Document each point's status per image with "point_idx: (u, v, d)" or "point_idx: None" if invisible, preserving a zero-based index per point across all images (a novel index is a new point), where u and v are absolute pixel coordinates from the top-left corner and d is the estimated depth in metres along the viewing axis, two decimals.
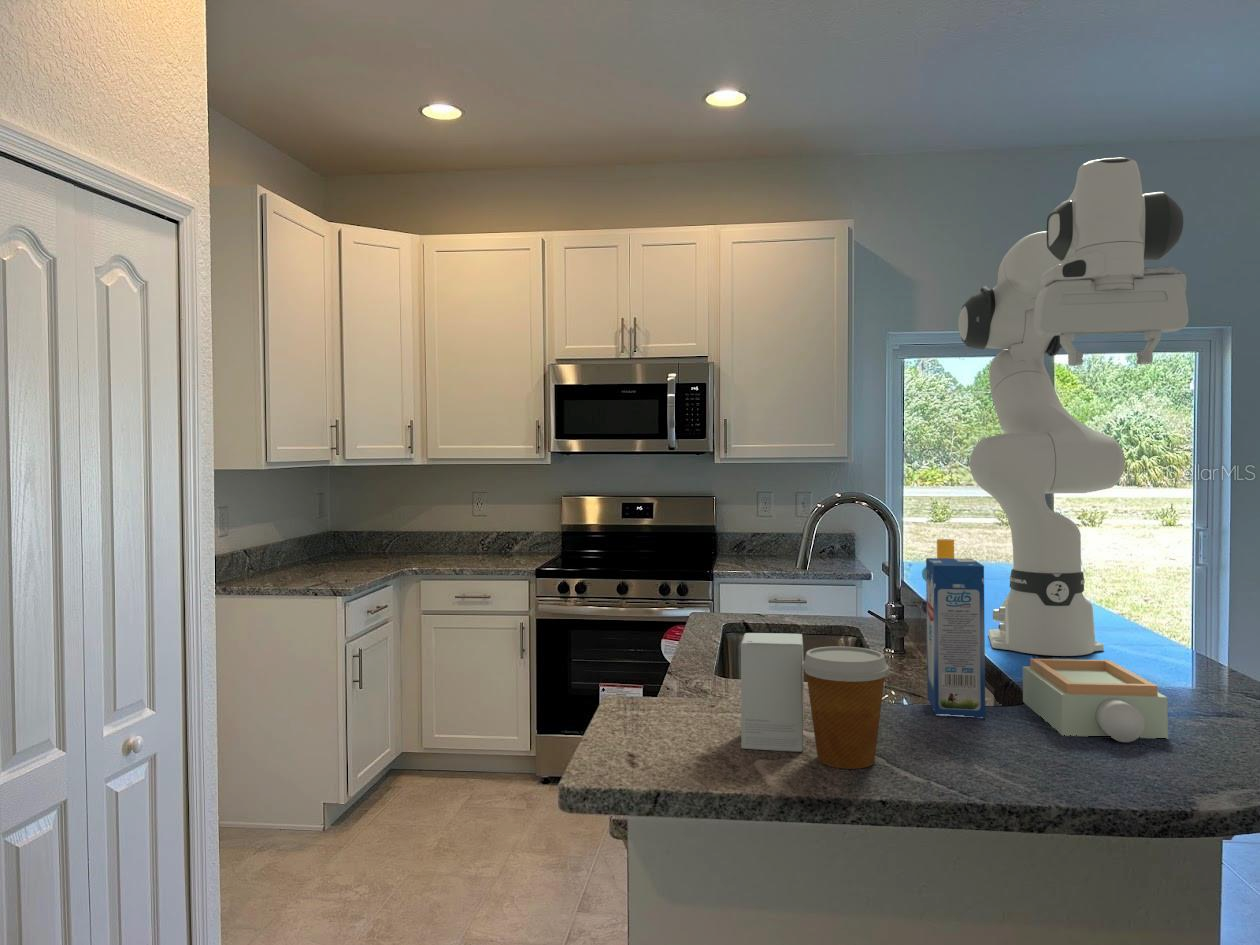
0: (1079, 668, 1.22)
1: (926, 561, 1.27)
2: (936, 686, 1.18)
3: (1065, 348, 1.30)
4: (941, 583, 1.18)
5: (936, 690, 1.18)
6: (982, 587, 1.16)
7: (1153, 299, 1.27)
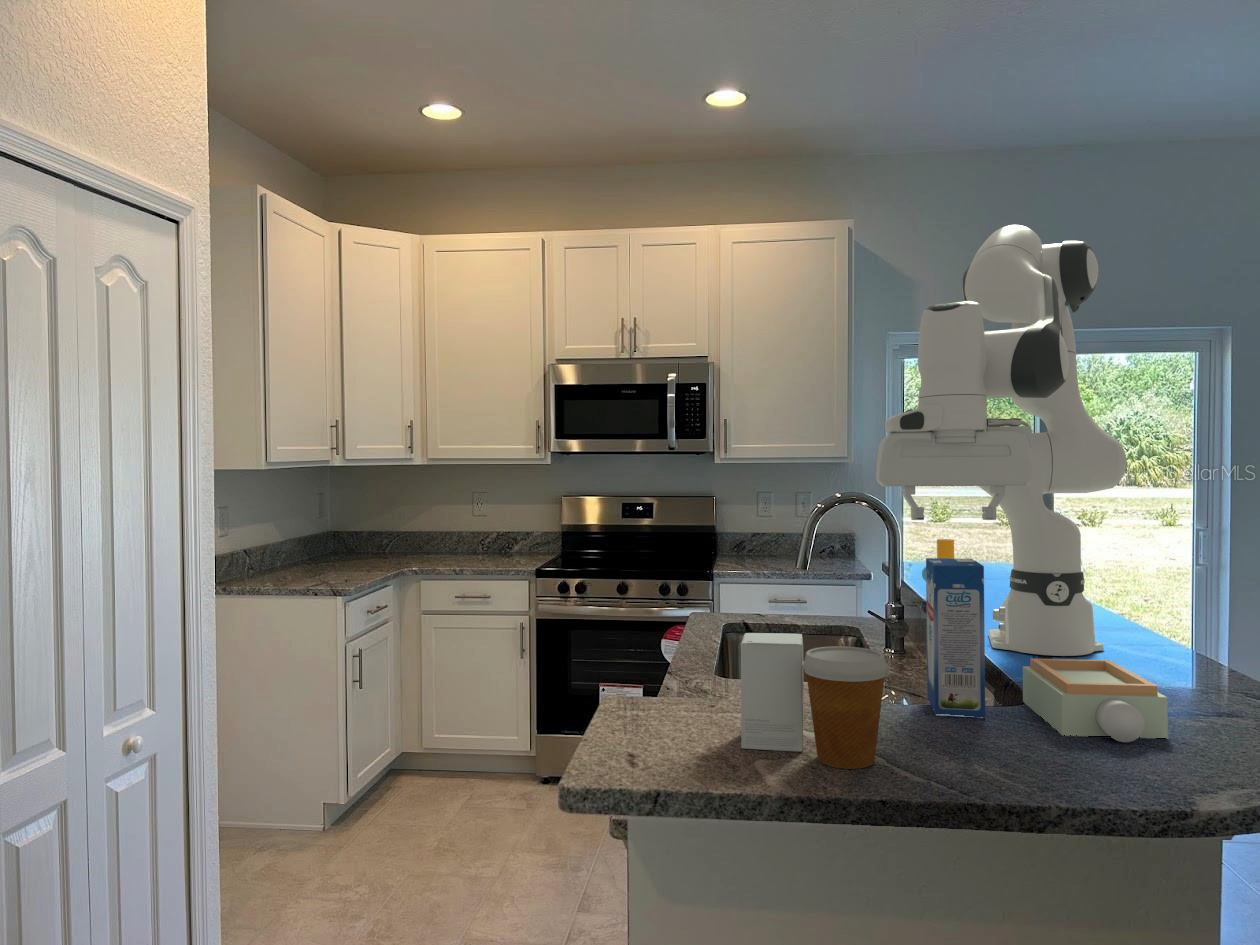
0: (1079, 668, 1.22)
1: (926, 561, 1.27)
2: (936, 686, 1.18)
3: (907, 501, 1.23)
4: (941, 583, 1.18)
5: (936, 690, 1.18)
6: (982, 587, 1.16)
7: (996, 453, 1.20)
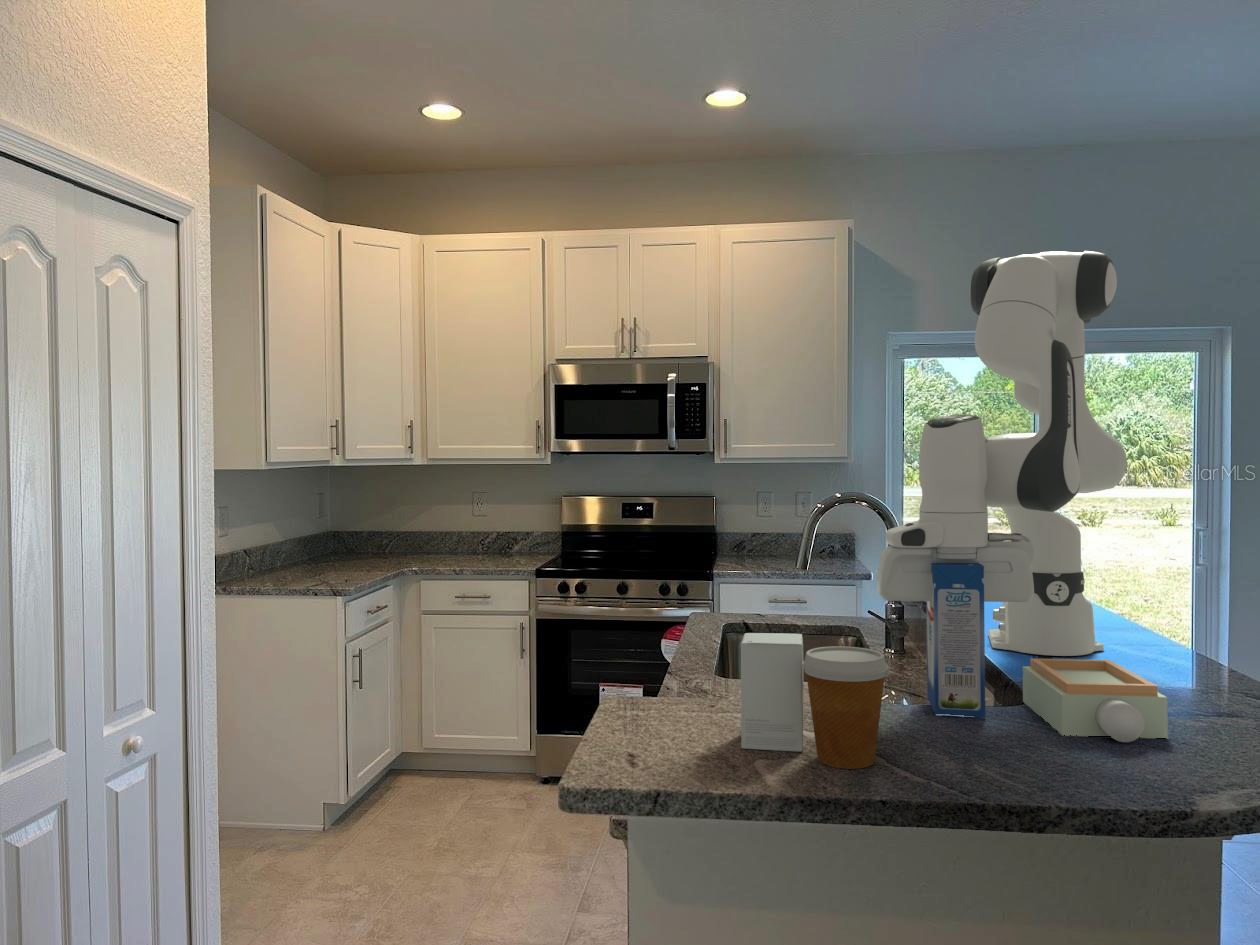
0: (1079, 668, 1.22)
1: None
2: (936, 686, 1.18)
3: None
4: (941, 583, 1.18)
5: (936, 690, 1.18)
6: (982, 587, 1.16)
7: (997, 569, 1.20)
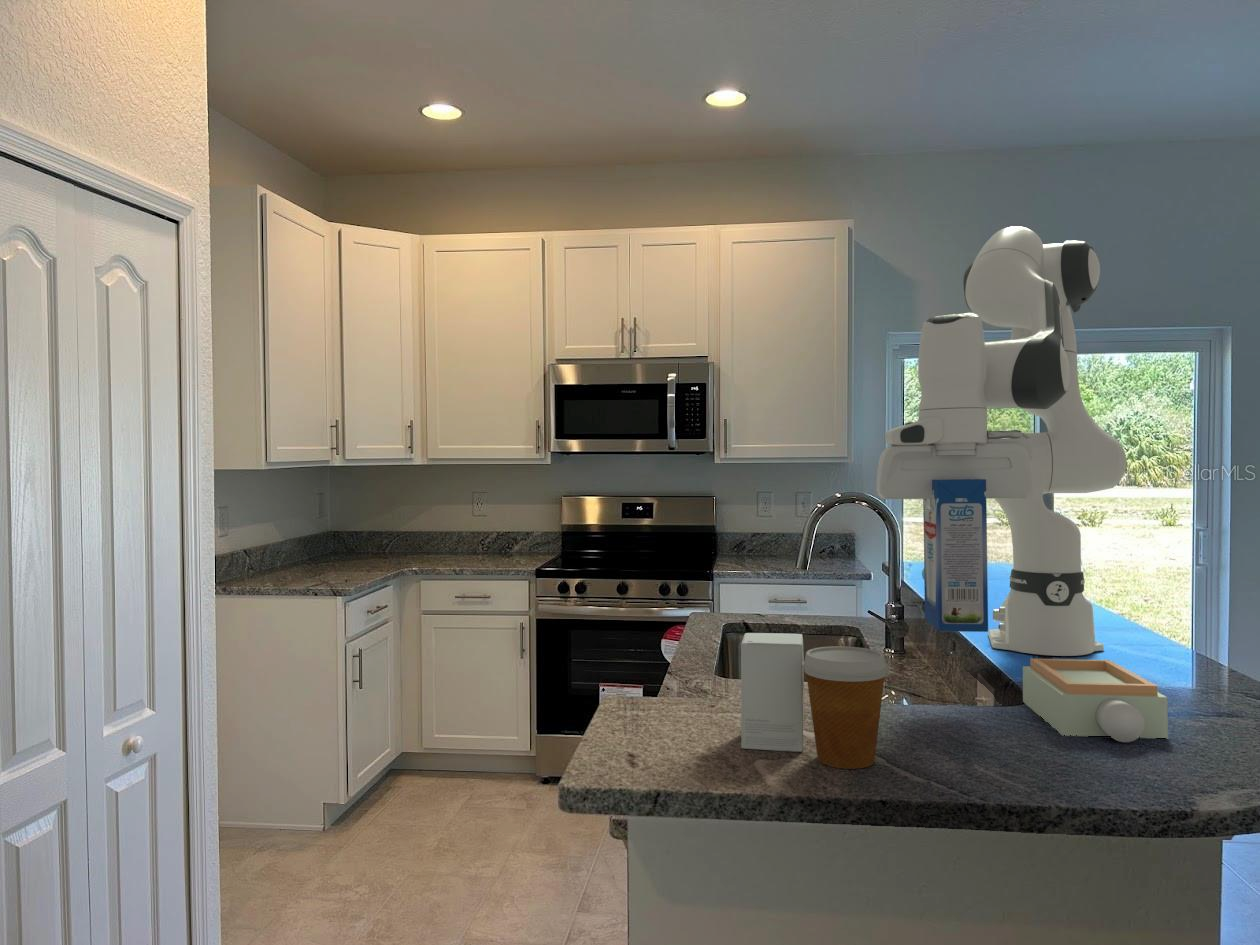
0: (1079, 668, 1.22)
1: None
2: (939, 601, 1.17)
3: None
4: (944, 497, 1.17)
5: (939, 605, 1.17)
6: (984, 500, 1.16)
7: (996, 466, 1.20)
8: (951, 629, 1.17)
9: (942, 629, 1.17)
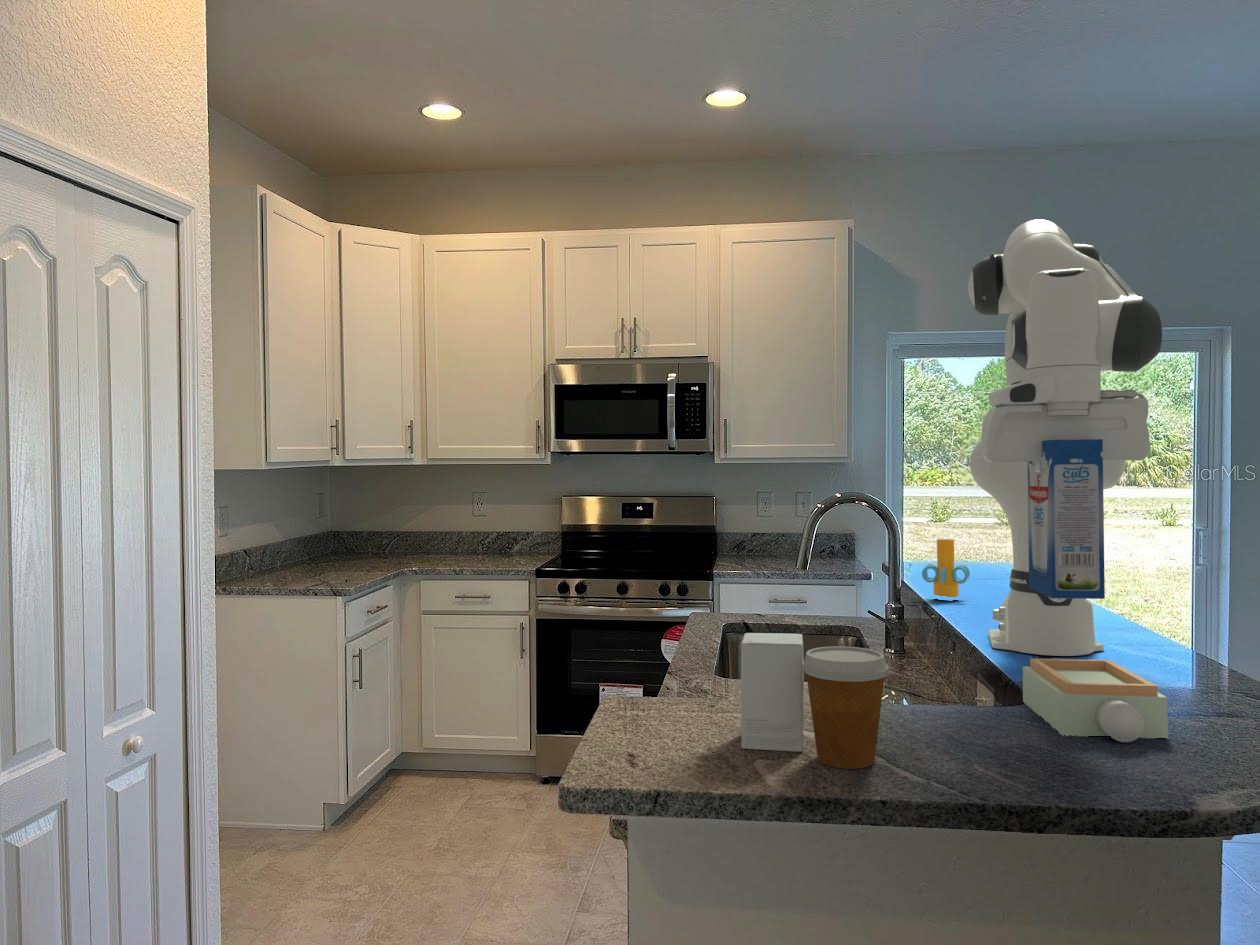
0: (1079, 668, 1.22)
1: None
2: (1053, 567, 1.12)
3: None
4: (1057, 458, 1.12)
5: (1053, 571, 1.12)
6: (1101, 461, 1.11)
7: (1111, 426, 1.14)
8: (1065, 596, 1.12)
9: (1055, 596, 1.12)
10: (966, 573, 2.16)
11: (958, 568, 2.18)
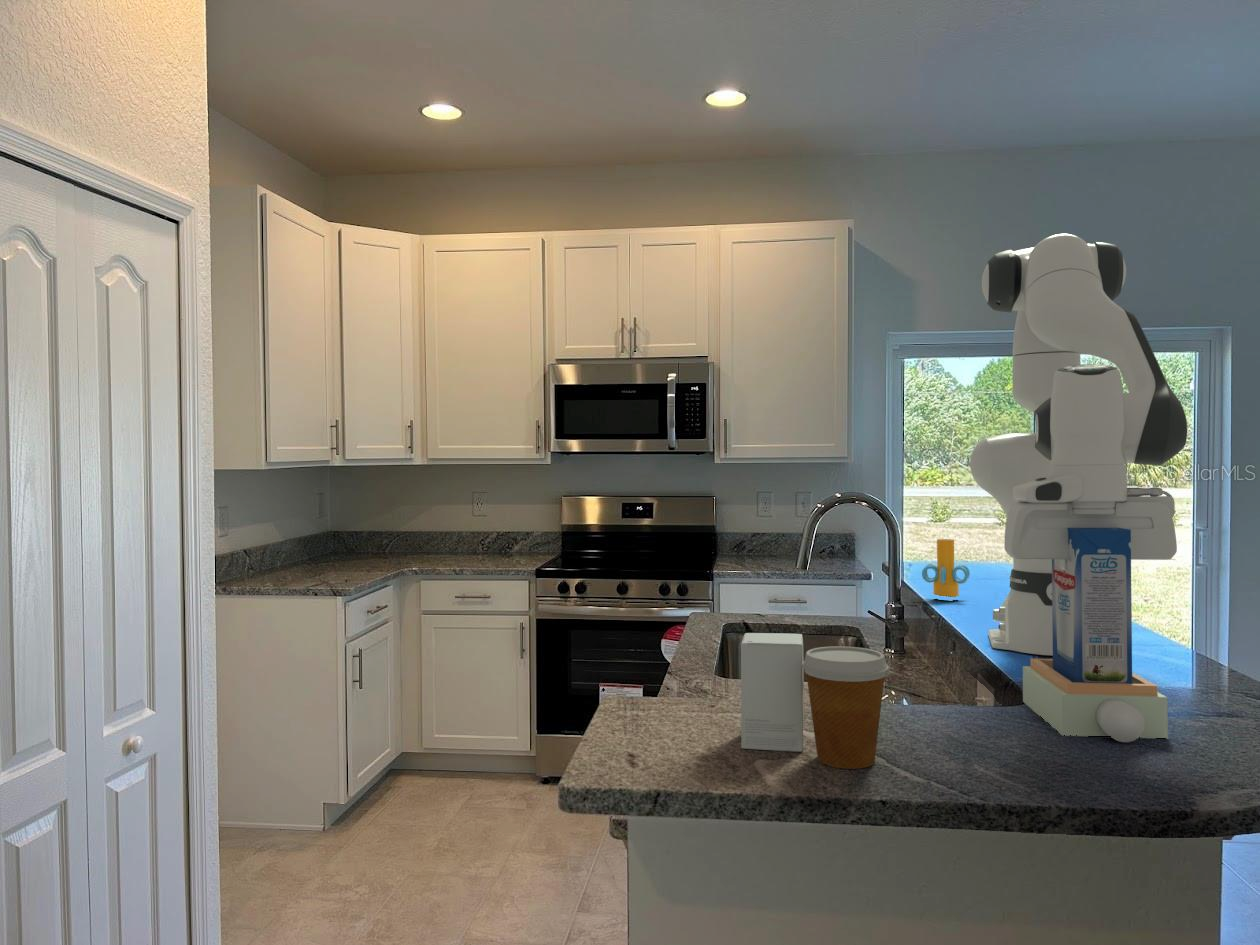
0: None
1: None
2: (1080, 658, 1.11)
3: None
4: (1085, 548, 1.11)
5: (1080, 662, 1.11)
6: (1129, 552, 1.10)
7: (1137, 525, 1.13)
8: None
9: None
10: (966, 573, 2.16)
11: (958, 568, 2.18)
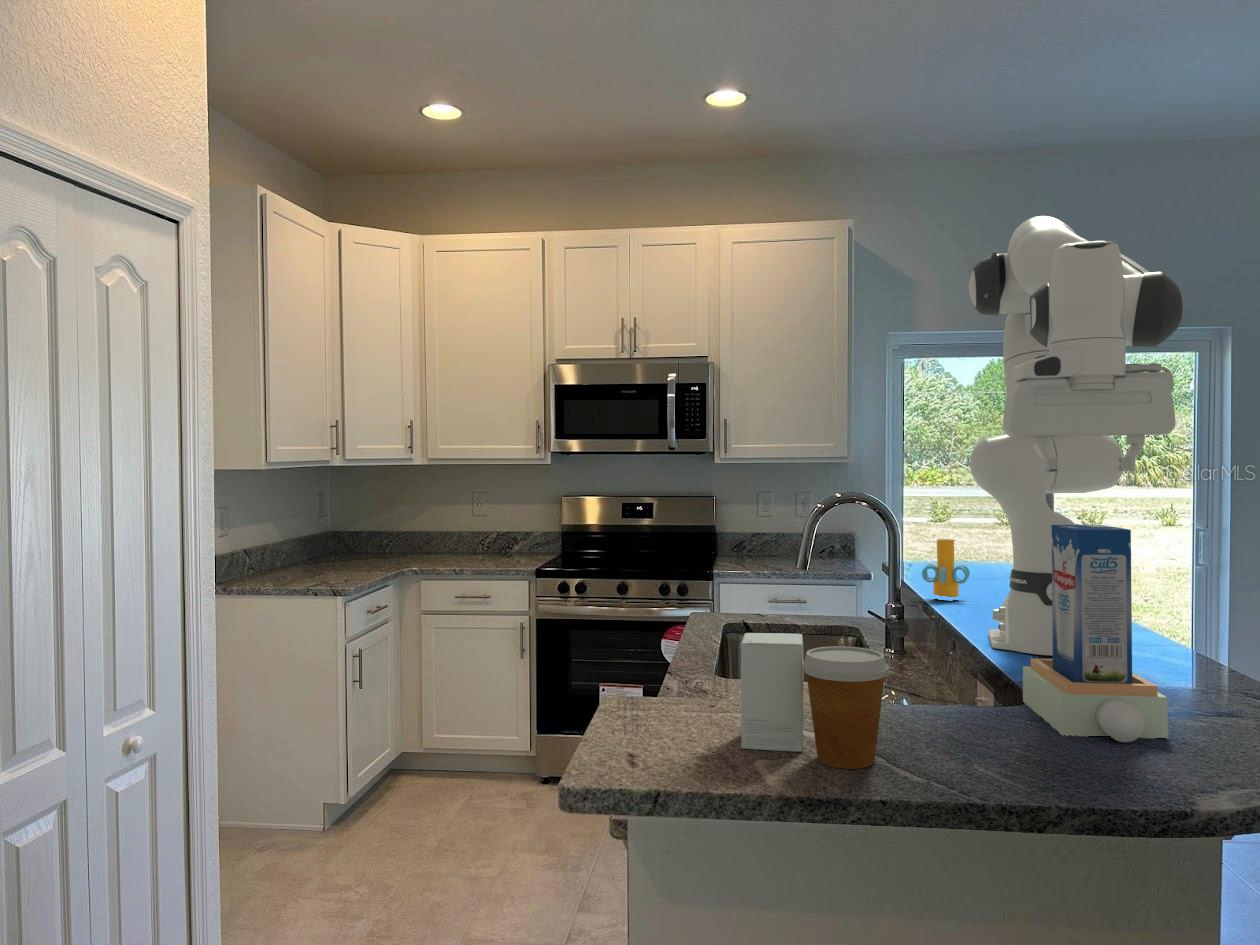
0: None
1: (1052, 528, 1.20)
2: (1080, 658, 1.11)
3: (1038, 452, 1.17)
4: (1085, 548, 1.11)
5: (1080, 662, 1.11)
6: (1129, 552, 1.10)
7: (1136, 400, 1.13)
8: None
9: None
10: (966, 573, 2.16)
11: (958, 568, 2.18)
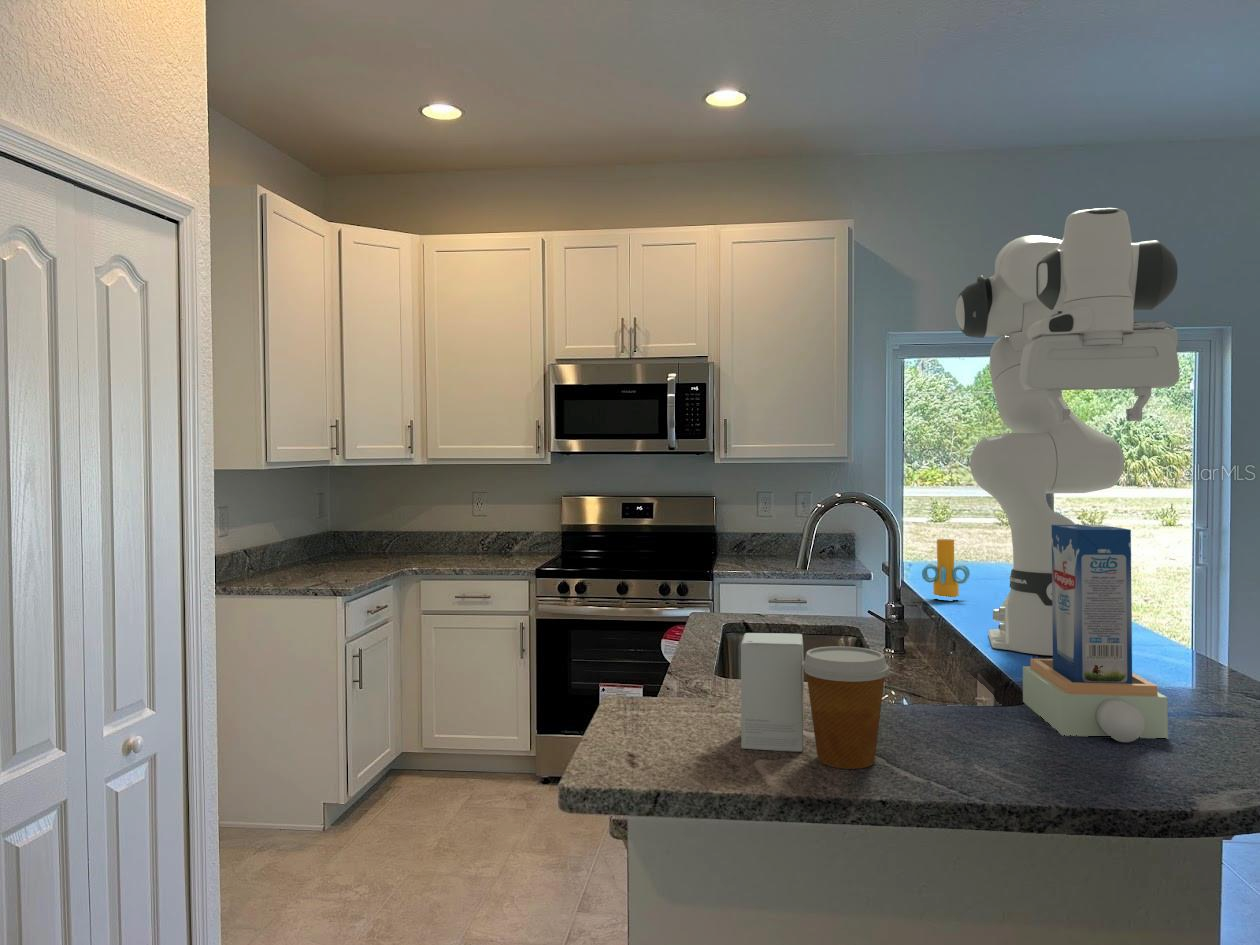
0: None
1: (1052, 528, 1.20)
2: (1080, 658, 1.11)
3: (1052, 404, 1.26)
4: (1085, 548, 1.11)
5: (1080, 662, 1.11)
6: (1129, 552, 1.10)
7: (1143, 355, 1.23)
8: None
9: None
10: (966, 573, 2.16)
11: (958, 568, 2.18)
